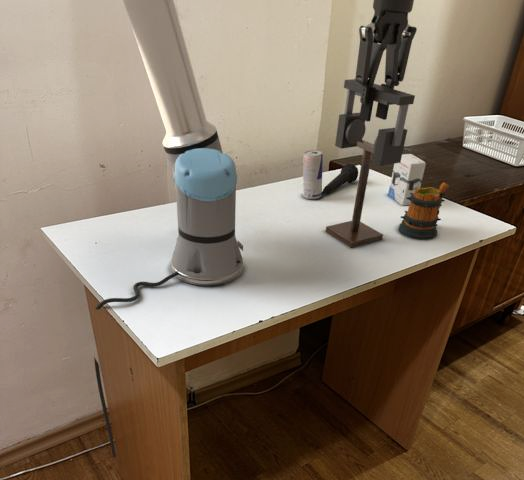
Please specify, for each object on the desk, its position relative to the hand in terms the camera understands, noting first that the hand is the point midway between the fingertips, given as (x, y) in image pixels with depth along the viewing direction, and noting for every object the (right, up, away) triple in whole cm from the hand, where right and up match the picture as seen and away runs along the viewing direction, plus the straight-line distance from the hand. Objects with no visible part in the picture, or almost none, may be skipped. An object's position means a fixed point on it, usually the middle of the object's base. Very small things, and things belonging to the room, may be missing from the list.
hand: (372, 118), depth 110 cm
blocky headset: (0, -6, +5) cm, 7 cm away
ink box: (+17, -6, +38) cm, 42 cm away
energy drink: (-10, -6, +36) cm, 38 cm away
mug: (+17, -19, +21) cm, 33 cm away
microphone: (-2, -1, +43) cm, 43 cm away
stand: (-1, -22, +17) cm, 27 cm away
